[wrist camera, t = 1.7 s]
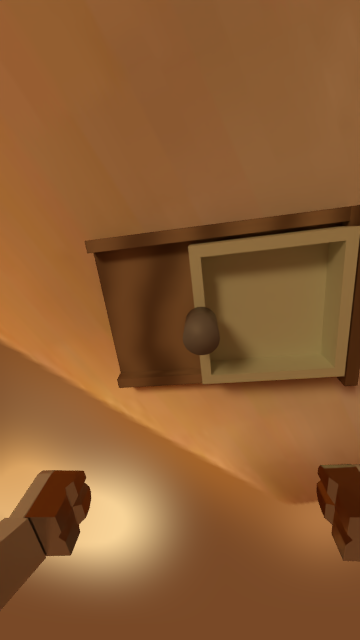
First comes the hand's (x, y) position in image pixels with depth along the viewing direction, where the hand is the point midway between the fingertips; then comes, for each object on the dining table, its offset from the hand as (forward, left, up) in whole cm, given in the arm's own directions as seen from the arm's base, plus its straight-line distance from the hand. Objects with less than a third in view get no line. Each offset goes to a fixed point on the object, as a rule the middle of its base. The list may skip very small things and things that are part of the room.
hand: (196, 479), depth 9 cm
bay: (-2, 0, -21) cm, 22 cm away
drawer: (-6, 0, -20) cm, 21 cm away
